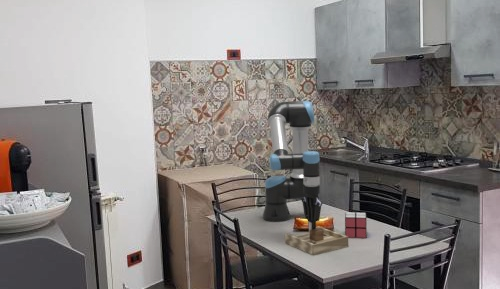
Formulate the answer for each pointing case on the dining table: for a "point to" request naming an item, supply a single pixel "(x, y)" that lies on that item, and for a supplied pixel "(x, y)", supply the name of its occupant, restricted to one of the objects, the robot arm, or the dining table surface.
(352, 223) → the puzzle cube
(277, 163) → the robot arm
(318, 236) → the block
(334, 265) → the dining table surface
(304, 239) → the wooden sorting tray
